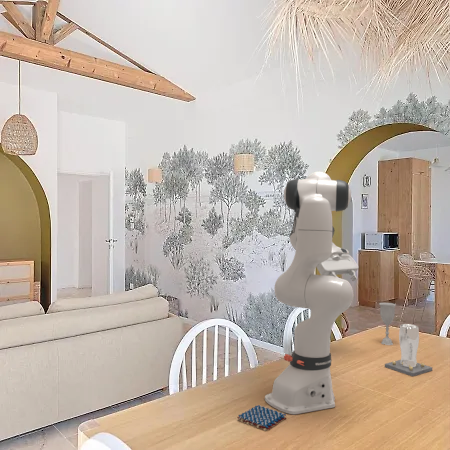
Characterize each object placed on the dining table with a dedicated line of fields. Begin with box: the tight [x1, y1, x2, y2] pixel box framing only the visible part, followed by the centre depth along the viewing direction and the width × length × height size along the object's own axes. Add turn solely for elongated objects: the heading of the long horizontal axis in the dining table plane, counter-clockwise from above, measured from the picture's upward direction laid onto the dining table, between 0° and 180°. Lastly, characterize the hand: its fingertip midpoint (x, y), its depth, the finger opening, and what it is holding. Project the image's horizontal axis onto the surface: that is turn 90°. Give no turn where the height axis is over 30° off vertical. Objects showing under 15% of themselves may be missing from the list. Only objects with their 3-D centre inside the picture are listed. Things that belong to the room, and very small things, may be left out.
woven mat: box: [237, 404, 287, 432], centre depth 124 cm, size 10×11×2 cm
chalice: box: [378, 302, 397, 346], centre depth 200 cm, size 7×7×18 cm
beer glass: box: [398, 323, 420, 368], centre depth 167 cm, size 7×7×15 cm
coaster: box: [384, 359, 433, 377], centre depth 167 cm, size 12×12×2 cm
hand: (347, 281), depth 179 cm, fingers open, 8 cm apart
